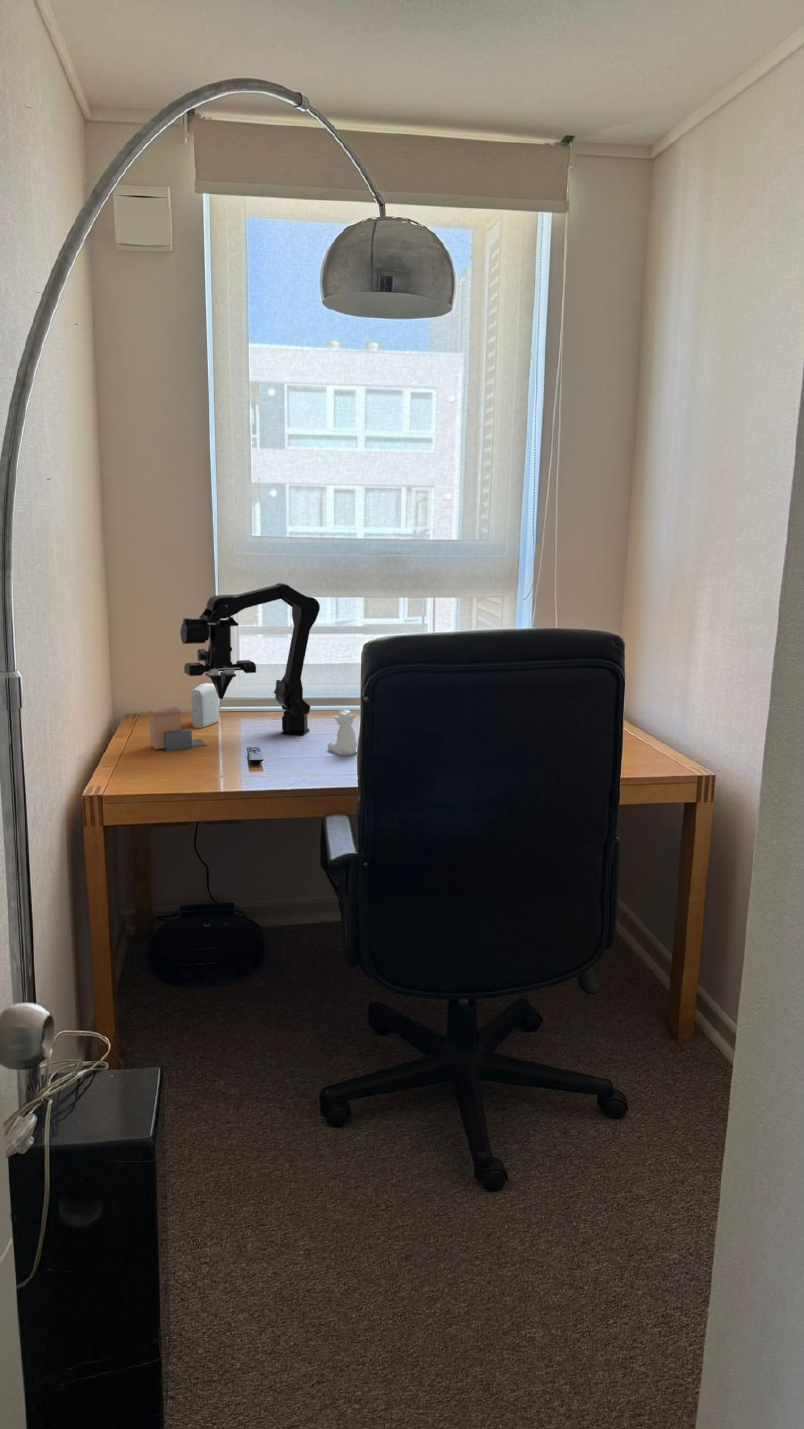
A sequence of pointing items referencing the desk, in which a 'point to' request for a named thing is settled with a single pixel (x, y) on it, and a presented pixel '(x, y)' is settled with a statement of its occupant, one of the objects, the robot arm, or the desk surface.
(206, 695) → the photo printer
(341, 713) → the white creature statuette
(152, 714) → the block
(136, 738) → the desk surface
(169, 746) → the chute
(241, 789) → the desk surface
